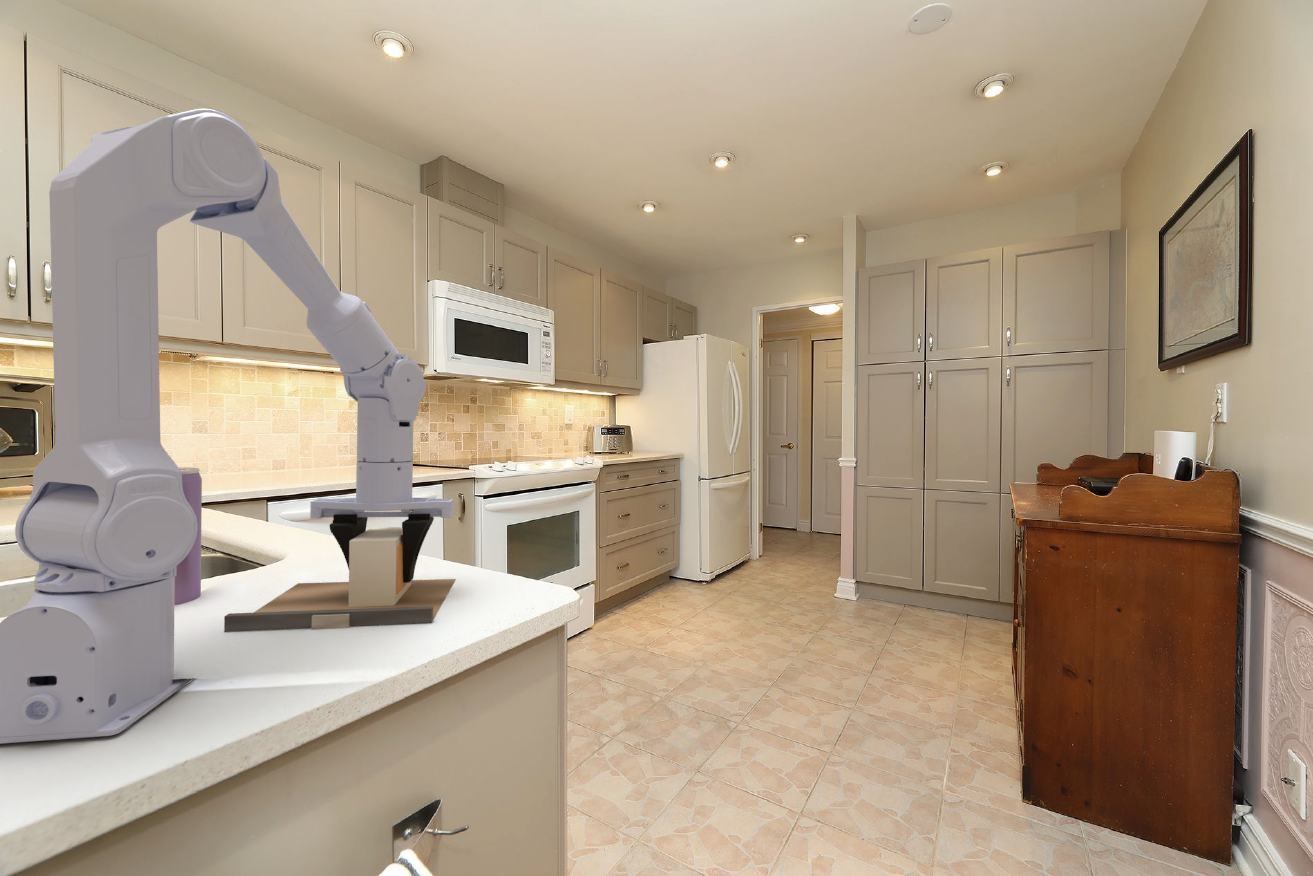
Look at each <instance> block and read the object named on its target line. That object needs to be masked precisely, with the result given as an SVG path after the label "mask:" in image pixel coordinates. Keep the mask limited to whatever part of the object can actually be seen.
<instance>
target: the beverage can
mask: <svg viewBox="0 0 1313 876" xmlns="http://www.w3.org/2000/svg"><path fill="white" fill-rule="evenodd" d="M178 468H179V469H180V470H181V473H182V487H183V492H184V496H185V498H186V500H187V501H188V503H189V504H190V506H191V507H192V509H193V510H194V513H195V515H196V518H197V523H198V531H197V536H196V540H195V543H194V545H193V547H192V549H191V551H190V552H189V553H188V555H187V556H186V557H185V558H184V559H183V560H182V561H181V562H180V563H179V564H178V565H177V567H176V576H175V594H174V606H178V605H182V604H186V603H189V602H192V601H196V600H197V599H198V598H201V597H202V594H201V593H202V592H201V591H202V582H201V581H202V507H203V505H202V497H203V495H202V494H203V493H202V491H203V490H202V489H203V484H202V483H203V478H202V476H201V474H200V471H201V469H200V468H199V467H187V466H184V467H183V466H182V467H181V466H180V467H179V466H178Z"/></svg>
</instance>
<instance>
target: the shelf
mask: <svg viewBox="0 0 1313 876" xmlns="http://www.w3.org/2000/svg"><path fill="white" fill-rule="evenodd" d="M456 580H457V579H456V578H449V579H448V578H444V579H443V578H442V579H441V578H440V579H439V578H438V579H412V580H411V586H410V587H409V588H408V589H407V590H406V592H405V593H404V594H403V595H402V597H401V598H400V599H399V600H398V601H397V603H396V604H395V605H392V606H364V607H349V581H335V582H334V581H333V582H332V581H331V582H329V581H327V582H302V583H301V582H298V583H296V584H295V585H293V586H292V587H290V588H289V589H286V591H284V592H283V593H281V594H279V595H278V596H276V597H275V598H273V599H271V600H270V601H269V602H267V603H266V604H264V605H263V606H261V607H260V608H258V609H257V610H255V611H254V612H242V613H241V612H239V613H238V612H237V613H236V612H235V613H232V612H231V613H228V614H226V615H224V618H223V619H224V621H223V623H224V625H223V626H224V628H223V629H224V630H223V632H224V633H231V632H234V633H235V632H237V633H239V632H255V631H259V632H260V631H278V630H281V631H282V630H285V631H286V630H303V629H304V630H305V629H306V630H307V629H311V630H328V629H333V630H334V629H349V628H353V627H356V628H357V627H373V626H374V627H376V626H378V627H379V626H399V625H400V626H401V625H403V626H404V625H424V624H432V623H433V621H434V619H435V618H436V617H437V614H438V613H439V611H440V609H441V607H442V605H443V604H444V602H445V600H446V598H447V596H448V594H449V592H450V590H451V589H452V588H453V585H454V584H455V582H456Z"/></svg>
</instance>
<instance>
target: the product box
mask: <svg viewBox="0 0 1313 876" xmlns="http://www.w3.org/2000/svg"><path fill="white" fill-rule="evenodd" d="M403 563H404V541H403V530H402V526H392V527H391V526H386V527H385V526H384V527H382V526H380V527H379V526H376V527H373V526H372V527H370V528H369V529H366V531H365V532H364V533H362V534H360V535H359V536H357V537H355V538H354V539H352V540H350V541H349V569H348V582H349V607H364V606H392V605H395V604H396V603H397V601H398V600H399V599H400V598H401V597H402V595H403V594H404V593H405V592H406V590H407V589H408V588H409V587H410V586H411V582H409V583H403Z"/></svg>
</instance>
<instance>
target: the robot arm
mask: <svg viewBox="0 0 1313 876" xmlns="http://www.w3.org/2000/svg"><path fill="white" fill-rule="evenodd" d="M48 194H49V195H48V196H49V225H50V227H49V230H50V231H49V233H50V236H49V237H50V263H51V265H50V266H51V268H50V271H51V272H50V274H51V305H52V308H51V309H52V310H51V312H52V313H51V314H52V315H51V316H52V344H53V345H52V347H53V349H52V352H53V354H52V355H53V383H54V384H53V387H54V388H53V391H54V392H53V393H54V424H55V425H54V428H55V429H54V431H55V434H54V435H55V444H54V446H53V447H52V449H51V450H50V451H49V452H48V453H47V455H45V456H44V458H43V459H41V461H40V462H39V463H38V464H37V466H36V467H35V468H34V470H33V471H32V491H31V494H30V496H29V499H28V501H27V502H26V504H25V505H24V507H23V508H22V509H21V511H20V512H19V514H18V517H17V520H16V522H15V528H14V532H15V533H14V534H15V539H16V542H17V544H18V547H19V548H20V550H21V551H22V552H23V553H24V555H26V556H27V557H28V558H29V559H31V560H32V561H34V562H36V563H38V569H37V572H36V573H35V577H34V581H33V582H34V584H33V585H34V590H33V593H32V595H31V597H30V599H29V600H28V602H26V604H25V605H24V606H23V607H22V608H20V609H18V610H16V611H14V612H13V613H11V614H10V615H8V616H6V617H5V618H4V619H3V620H1V622H0V745H1V744H13V743H15V744H16V743H28V742H41V741H54V740H55V741H57V740H69V739H85V738H95V737H96V738H97V737H99V738H100V737H109V736H114V735H117V734H120V733H121V732H123V731H124V730H125V729H127V728H128V727H130V726H132V725H133V724H134V723H135V722H137V721H138V720H139V719H141V718H142V717H143V716H145V715H146V714H148V713H149V712H151V710H153V709H154V708H156V707H157V706H159V705H160V704H162V703H163V702H164V701H165V700H167V699H168V698H169V697H171V696H172V695H173V694H175V693H177V692H178V691H179V690H180V689H182V688H183V687H185V686H186V685H187V684H189V683H190V682H191V681H193V680H195V678H193V677H192V678H191V677H190V678H188V677H187V678H174V677H175V605H174V594H175V576H176V567H177V565H178V564H179V563H180V562H181V561H182V560H183V559H184V558H185V557H186V556H187V555H188V553H189V552H190V551H191V549H192V547H193V545H194V543H195V540H196V536H197V531H198V523H197V518H196V515H195V513H194V510H193V509H192V507H191V506H190V504H189V503H188V501H187V500H186V498H185V496H184V492H183V487H182V473H181V470H180V469H179V468H178V467H179V466H178V465H177V464H176V462H175V461H174V460H173V458H172V456H171V455H169V453H168V452H167V451H166V449H165V448H164V447H163V445H162V442H161V406H160V405H161V403H160V402H161V401H160V400H161V398H160V397H161V395H160V393H161V392H160V388H161V387H160V341H159V340H160V338H159V337H160V336H159V335H160V334H159V332H160V331H159V329H160V328H159V289H158V288H159V287H158V286H159V285H158V283H159V277H158V276H159V275H158V274H159V272H158V231H159V229H161V228H162V227H163V226H166V225H168V224H170V223H171V222H174V221H176V220H178V219H180V218H182V217H184V216H186V215H188V214H190V213H192V212H194V211H195V212H194V213H193V214H192V216H191V217H190V220H189V222H190V223H192V224H194V225H197V226H200V227H204V228H207V229H210V230H213V231H217V232H221V233H224V234H228V235H229V236H234V237H237V238H240V239H242V240H244V241H245V243H246V244H247V245H248V246H249V247H250V248H251V249H252V250H253V251H254V252H255V253H256V254H257V255H258V257H259V258H260V259H261V260H262V261H263V262H264V263H265V264H266V265H267V267H269V269H270V270H271V271H272V272H273V274H275V275H276V276H277V278H278V279H280V281H281V282H282V283H284V285H285V286H286V287H287V289H289V291H291V292H292V293H293V294H294V296H295V297H296V298H297V299H298V300H299V301H300V302H301V303H302V304H303V306H305V308H306V309H307V316H306V322H305V323H306V324H305V325H306V328H307V329H308V330H309V332H310V333H311V334H312V335H313V336H314V338H315V339H316V340H317V341H318V343H320V345H322V347H323V348H324V349H325V351H326V352H327V353H328V354H329V356H330V357H331V358H332V359H333V360H334V362H335V363H337V365H338V367H339V368H340V369H339V371H340V372H341V374H342V376H343V384H344V388H345V392H346V394H347V395H348V397H351V398H352V400H354V402H355V401H356V402H357V408H356V409H357V411H356V413H357V415H356V416H357V417H356V420H357V421H356V423H357V425H356V430H357V431H356V470H355V471H356V474H355V475H356V478H355V479H356V480H355V486H356V487H355V489H356V490H355V497H348V498H346V497H344V498H342V497H341V498H317V499H313V500H311V501H310V509H309V511H310V512H309V513H310V514H309V515H310V516H309V517H310V520H311V519H313V520H314V519H316V520H317V519H318V520H319V519H323V518H332V523H329V530H330V532H331V534H332V535H333V537H334V538H335V540H336V541H337V544H338V545H339V547H340V549H341V551H342V554H343V556H344V559H345V562H346V565H347V569H348V570H349V541H350V540H352V539H354V538H355V537H357V536H359V535H360V534H362V533H364V532H365V531H367V525H368V524H367V523H368V518H407V519H405V520H404V521H402V522H401V527H402V530H403V541H404V563H403V583H409V582H411V580H414V576H415V575H414V574H415V571H416V570H415V569H416V564H417V560H418V557H419V555H420V551H421V549H422V546H423V543H424V540H425V538H426V537H427V534H428V532H429V530H430V528H431V526H432V524H433V521H434V519H435V518H436V517H437V518H441V519H442V518H443V519H444V518H445V519H451V518H452V517H453V515H454V498H433V497H432V498H431V497H413V471H414V470H413V468H414V467H413V463H414V461H413V460H414V422H415V421H416V420H417V417H419V405H420V402H421V401H422V399H423V397H424V396H425V394H426V390H427V384H428V383H427V381H426V380H425V379H424V378H425V377H424V373H423V371H422V368H421V367H420V366H419V364H418V363H417V362H416V361H414V360H413V358H411V357H410V356H406V354H400V352H399V351H398V349H397V348H396V346H395V344H394V343H393V342H392V341H391V339H389V336H387V334H386V333H385V331H384V330H383V328H382V327H381V325H380V324H379V323H378V322H377V320H376V318H374V316H373V315H372V309H371V308H370V306H369V305H368V304H367V302H365V301H362V299H361V298H360V297H358V296H357V295H354V294H349V293H345V292H343V291H341V290H340V289H339V288H338V286H337V285H336V283H335V281H334V280H333V279H332V276H331V275H330V274H329V272H328V271H327V269H326V268H325V265H324V264H323V262H322V261H321V260H320V258H319V257H318V255H317V254H316V252H315V251H314V249H313V247H312V246H311V245H310V243H309V241H308V239H307V238H306V236H305V235H304V233H303V232H302V230H301V229H300V227H299V225H298V224H297V222H296V221H295V219H294V218H293V216H292V214H291V213H290V211H289V210H288V208H287V207H286V205H285V203H284V202H283V199H282V196H281V189H280V181H279V174H278V173H277V171H276V169H275V168H274V167H273V166H272V164H270V162H269V161H268V160H267V159H266V158H265V157H264V156H263V153H262V151H261V149H260V147H259V145H258V143H257V142H256V140H255V139H254V137H253V136H252V135H251V134H250V132H249V131H248V130H247V129H246V128H245V127H244V126H243V125H242V124H241V123H239V122H238V121H237V120H236V119H235V118H232V117H231V116H229V115H227V114H226V113H224V112H221V111H218V110H216V109H210V108H195V109H191V110H186V111H182V112H177V113H172V114H168V115H164V116H161V117H157V118H155V119H153V120H150V121H148V122H145V123H143V124H140V125H137V126H126V127H122V128H118V129H113V130H108V131H105V132H104V131H103V132H99V133H97V134H93V135H92V136H91V139H90V144H89V145H88V146H87V147H85V149H84V150H82V151H81V153H79V154H78V155H77V156H76V157H75V158H74V159H72V161H71V162H70V163H69V164H67V166H66V167H64V168H63V170H61V171H60V172H59V173H58V174H56V176H55V177H54V178H53V179H52V180H51V184H50V188H49V193H48Z"/></svg>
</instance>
